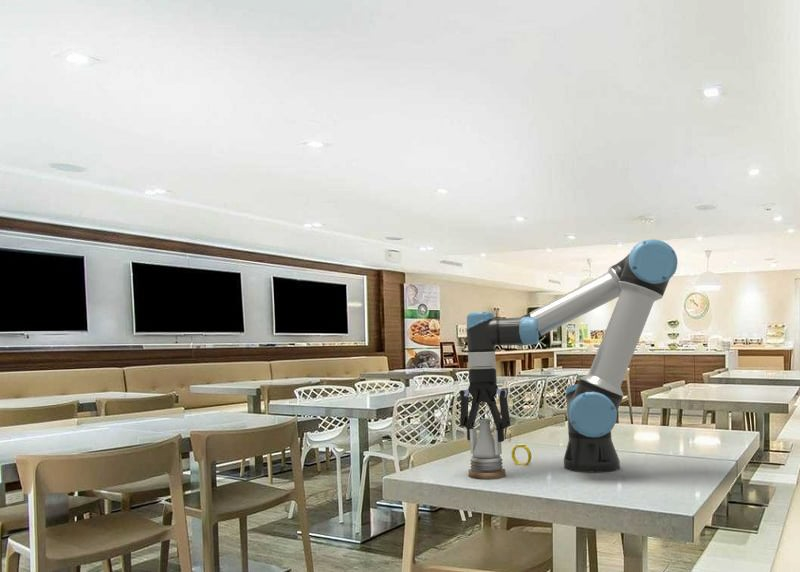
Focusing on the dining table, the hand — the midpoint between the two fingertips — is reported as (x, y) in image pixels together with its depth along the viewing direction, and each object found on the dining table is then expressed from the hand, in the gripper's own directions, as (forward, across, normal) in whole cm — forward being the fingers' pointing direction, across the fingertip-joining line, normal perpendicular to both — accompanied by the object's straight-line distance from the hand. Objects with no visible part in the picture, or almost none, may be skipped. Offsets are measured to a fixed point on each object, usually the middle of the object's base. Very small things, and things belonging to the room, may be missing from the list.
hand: (486, 453), depth 176 cm
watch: (+6, -2, -20) cm, 21 cm away
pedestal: (+6, 0, 0) cm, 6 cm away
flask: (+1, 0, 0) cm, 1 cm away
